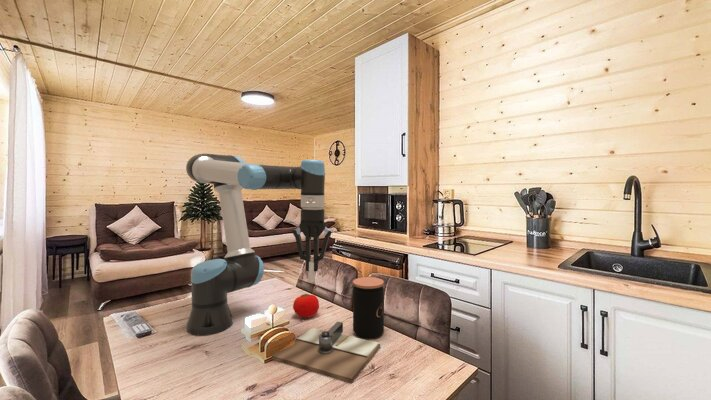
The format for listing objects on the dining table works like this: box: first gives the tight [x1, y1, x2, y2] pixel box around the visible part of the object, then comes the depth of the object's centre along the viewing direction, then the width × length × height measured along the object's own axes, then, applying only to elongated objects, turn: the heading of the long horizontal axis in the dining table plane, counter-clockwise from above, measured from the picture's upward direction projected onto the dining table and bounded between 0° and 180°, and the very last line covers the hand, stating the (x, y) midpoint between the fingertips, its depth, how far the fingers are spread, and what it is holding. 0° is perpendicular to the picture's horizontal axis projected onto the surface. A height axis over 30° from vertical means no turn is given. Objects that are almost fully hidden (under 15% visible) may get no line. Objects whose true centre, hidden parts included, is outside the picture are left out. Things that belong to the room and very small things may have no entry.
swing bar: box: [319, 321, 344, 351], centre depth 100 cm, size 13×4×4 cm, turn 159°
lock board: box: [271, 327, 381, 384], centre depth 96 cm, size 26×20×2 cm
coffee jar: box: [352, 276, 385, 340], centre depth 110 cm, size 11×11×18 cm
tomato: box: [292, 293, 320, 318], centre depth 125 cm, size 9×10×8 cm
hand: (311, 280), depth 103 cm, fingers closed
